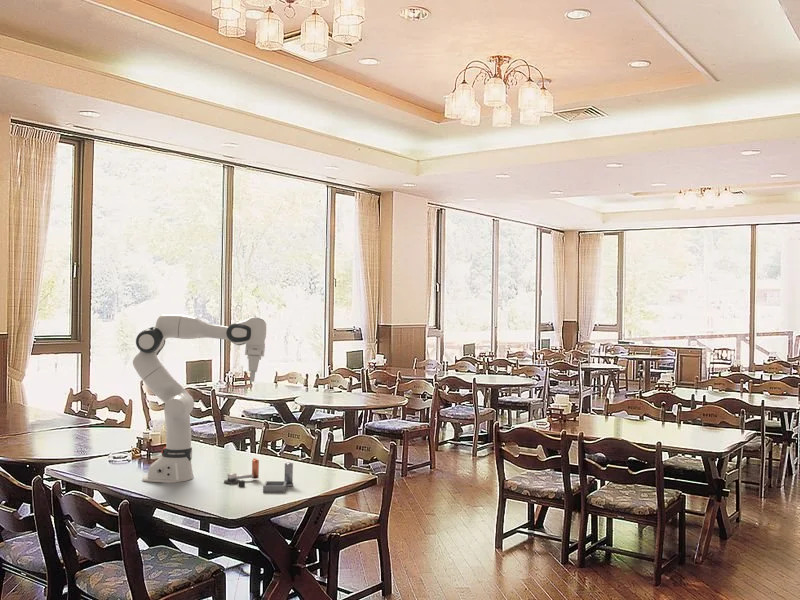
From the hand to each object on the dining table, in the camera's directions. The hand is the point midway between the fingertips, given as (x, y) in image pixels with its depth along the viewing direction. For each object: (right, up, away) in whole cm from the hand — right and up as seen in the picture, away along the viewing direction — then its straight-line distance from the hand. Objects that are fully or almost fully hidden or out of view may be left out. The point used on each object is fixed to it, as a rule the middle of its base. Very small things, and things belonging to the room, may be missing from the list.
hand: (251, 381), depth 354 cm
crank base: (-7, -45, -9) cm, 46 cm away
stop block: (-2, -45, -16) cm, 47 cm away
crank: (-3, -44, -6) cm, 44 cm away
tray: (+14, -45, -22) cm, 52 cm away
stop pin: (+19, -45, -13) cm, 51 cm away
